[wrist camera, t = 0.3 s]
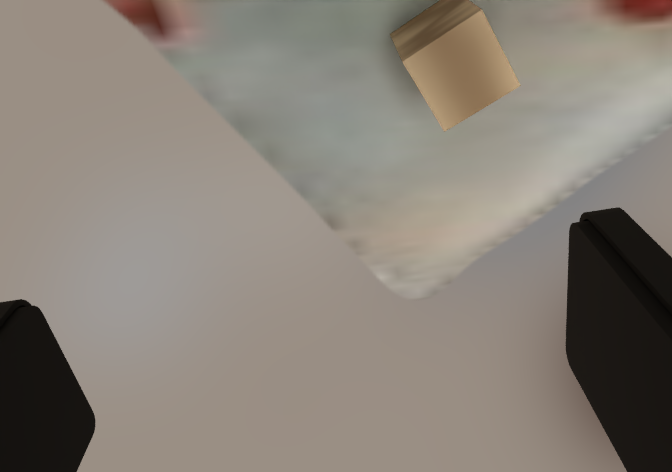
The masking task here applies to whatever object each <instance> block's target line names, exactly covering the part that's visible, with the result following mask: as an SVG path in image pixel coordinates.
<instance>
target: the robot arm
mask: <svg viewBox="0 0 672 472" xmlns="http://www.w3.org/2000/svg"><path fill="white" fill-rule="evenodd" d="M566 354H567V358H568V362H569V365H570V367H571V369H572V371H573V373H574V375H575V377H576V379H577V380H578V382H579V384H580V386H581V388H582V390H583V391H584V393H585V395H586V397H587V399H588V401H589V402H590V404H591V406H592V408H593V410H594V411H595V413H596V415H597V417H598V419H599V420H600V423H601V424H602V426H603V428H604V430H605V432H606V434H607V435H608V437H609V439H610V441H611V443H612V444H613V446H614V448H615V450H616V452H617V454H618V456H619V457H620V459H621V461H622V463H623V465H624V467H625V468H626V470H627V472H672V258H671V256H670V255H668V254H667V253H666V252H665V251H664V250H663V249H662V248H661V247H660V246H659V245H658V244H657V243H656V242H655V241H654V240H653V239H652V238H651V237H650V236H649V235H648V234H647V233H646V232H645V231H644V230H643V229H642V228H641V227H640V226H639V225H638V224H637V223H636V222H635V221H634V220H633V219H632V218H631V217H630V216H629V215H628V214H627V213H626V212H625V211H624V210H622V209H621V208H611V209H605V210H599V211H592V212H585V213H583V214H582V215H581V218H580V222H576V223H572V224H571V226H570V231H569V259H568V290H567V322H566ZM94 430H95V416H94V413H93V411H92V409H91V407H90V405H89V403H88V401H87V399H86V397H85V395H84V393H83V391H82V390H81V387H80V385H79V383H78V381H77V379H76V377H75V376H74V374H73V372H72V370H71V368H70V366H69V364H68V362H67V360H66V358H65V357H64V354H63V352H62V350H61V348H60V346H59V344H58V343H57V340H56V339H55V337H54V335H53V333H52V331H51V329H50V327H49V325H48V323H47V321H46V319H45V317H44V315H43V313H42V312H41V310H40V309H39V308H38V307H36V306H31V304H30V303H29V302H27V301H26V300H22V299H20V300H14V301H7V302H0V472H77V469H78V467H79V465H80V463H81V460H82V458H83V456H84V454H85V452H86V449H87V447H88V445H89V443H90V440H91V438H92V436H93V433H94Z"/></svg>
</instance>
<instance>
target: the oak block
mask: <svg viewBox="0 0 672 472" xmlns="http://www.w3.org/2000/svg"><path fill="white" fill-rule="evenodd" d="M390 36H391V38H392V40H393V42H394V45H395V47H396V49H397V51H398V53H399V55H400V58H401V60H402V62H403V64H404V65H405V67H406V69H407V70H408V72H409V74H410V75H411V77H412V79H413V80H414V82H415V84H416V85H417V87H418V89H419V90H420V92H421V94H422V95H423V97H424V99H425V100H426V102H427V104H428V105H429V107H430V109H431V110H432V112H433V114H434V115H435V117H436V119H437V120H438V122H439V124H440V125H441V127H442V129H443V130H444V132H445V131H446V130H448V129H450V128H451V127H453V126H455V125H456V124H458V123H460V122H461V121H463V120H465V119H466V118H468V117H470V116H471V115H473V114H475V113H476V112H478V111H480V110H481V109H483V108H485V107H486V106H488V105H489V104H491V103H493V102H494V101H496V100H498V99H499V98H501V97H503V96H504V95H506V94H508V93H509V92H511V91H513V90H514V89H516V88H518V87H519V86H521V85H520V83H519V82H518V80H517V78H516V76H515V74H514V72H513V70H512V68H511V66H510V64H509V62H508V60H507V58H506V56H505V54H504V52H503V50H502V48H501V46H500V44H499V42H498V40H497V38H496V36H495V34H494V32H493V30H492V28H491V26H490V24H489V23H488V21H487V19H486V17H485V15H484V13H483V11H482V9H480V8H479V7H478V6H476V5H475V4H473V3H472V2H471V1H469V0H440V1H438V2H437V3H435V4H434V5H432V6H431V7H429V8H428V9H427V10H425V11H424V12H422V13H421V14H419V15H418V16H416V17H415V18H413V19H412V20H410V21H409V22H407V23H406V24H404V25H403V26H401V27H400V28H398V29H397V30H395V31H394V32H392V33H391V34H390Z"/></svg>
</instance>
